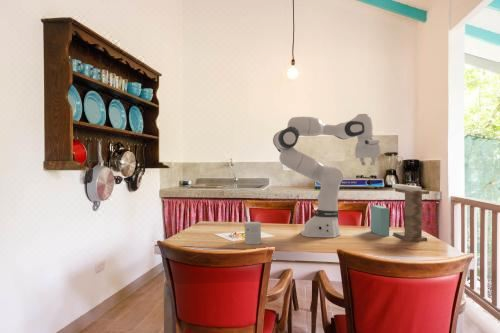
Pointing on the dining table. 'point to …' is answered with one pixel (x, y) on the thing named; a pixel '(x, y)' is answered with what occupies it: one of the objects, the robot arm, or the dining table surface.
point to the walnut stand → (412, 216)
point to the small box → (252, 232)
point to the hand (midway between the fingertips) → (368, 165)
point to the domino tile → (406, 187)
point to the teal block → (380, 220)
